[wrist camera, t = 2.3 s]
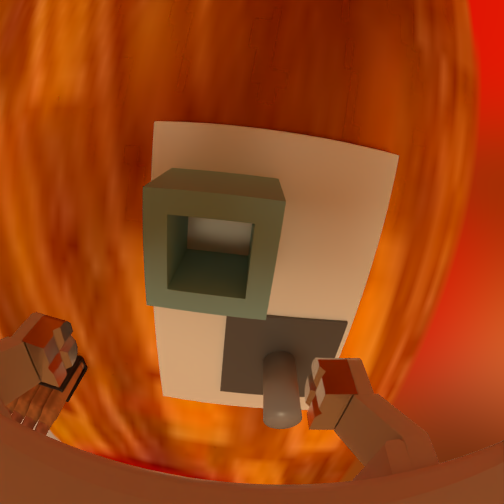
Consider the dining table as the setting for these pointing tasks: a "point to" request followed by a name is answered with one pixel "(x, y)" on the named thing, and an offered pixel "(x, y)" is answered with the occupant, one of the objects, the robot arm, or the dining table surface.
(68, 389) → the ammunition clip
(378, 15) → the dining table surface
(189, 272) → the collar
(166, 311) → the post board
